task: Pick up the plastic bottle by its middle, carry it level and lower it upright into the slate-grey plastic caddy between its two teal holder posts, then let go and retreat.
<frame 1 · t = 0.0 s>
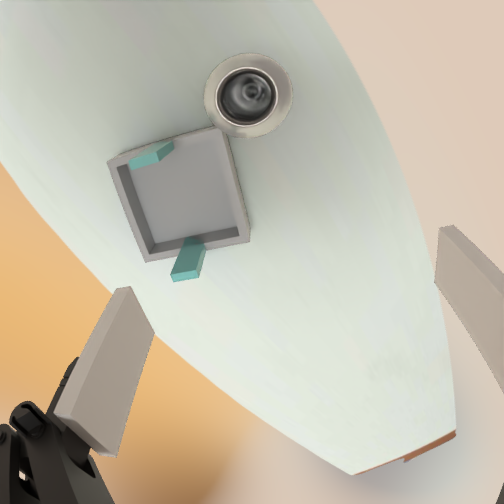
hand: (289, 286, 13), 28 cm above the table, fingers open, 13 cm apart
caddy: (184, 190, 40), on the table
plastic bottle: (251, 91, 34), on the table
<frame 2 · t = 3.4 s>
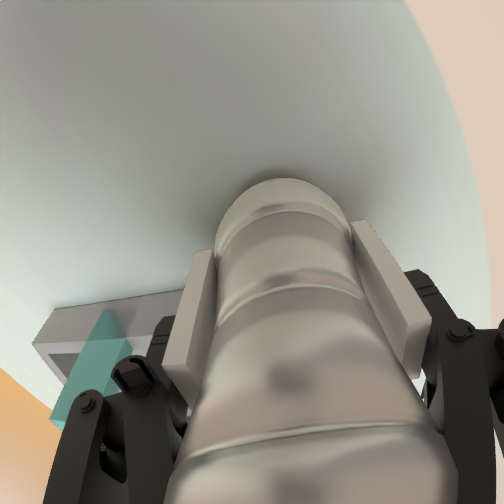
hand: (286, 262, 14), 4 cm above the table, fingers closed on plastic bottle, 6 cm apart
caddy: (163, 366, 24), on the table
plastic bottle: (279, 224, 18), on the table, touching gripper
when the fingers open (6 cm above the table, at t = 10.4 s): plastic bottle drops 1 cm, resting on caddy.
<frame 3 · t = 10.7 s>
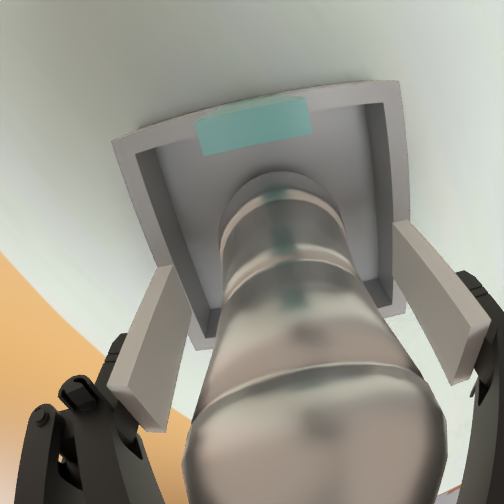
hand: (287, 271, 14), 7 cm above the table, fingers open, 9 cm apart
caddy: (277, 208, 20), on the table
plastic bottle: (276, 214, 19), point 1 cm above the table, touching caddy
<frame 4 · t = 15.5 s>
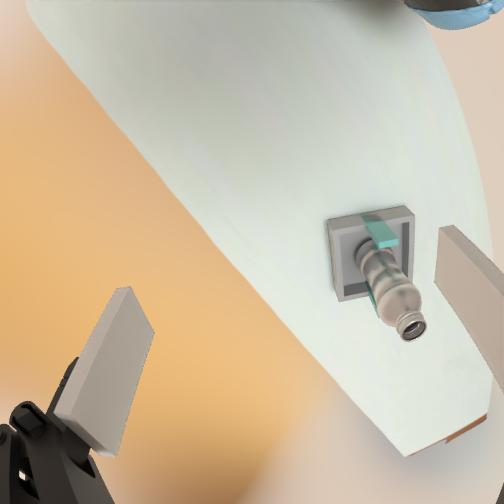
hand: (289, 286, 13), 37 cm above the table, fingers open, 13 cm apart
caddy: (369, 249, 53), on the table
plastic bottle: (370, 251, 53), point 1 cm above the table, touching caddy
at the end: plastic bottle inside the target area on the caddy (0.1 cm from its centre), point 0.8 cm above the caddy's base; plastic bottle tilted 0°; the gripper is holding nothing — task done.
